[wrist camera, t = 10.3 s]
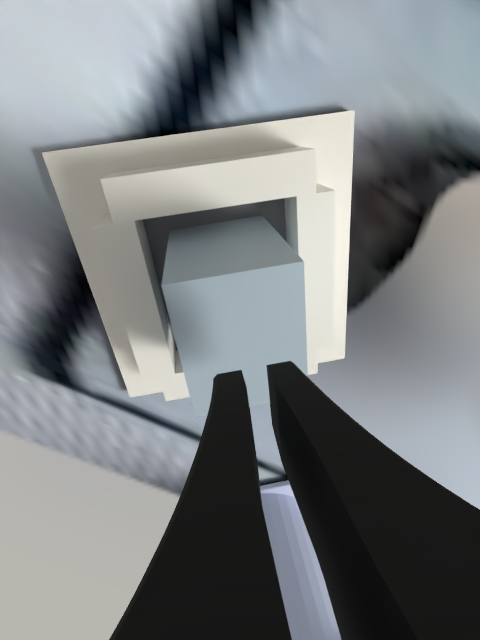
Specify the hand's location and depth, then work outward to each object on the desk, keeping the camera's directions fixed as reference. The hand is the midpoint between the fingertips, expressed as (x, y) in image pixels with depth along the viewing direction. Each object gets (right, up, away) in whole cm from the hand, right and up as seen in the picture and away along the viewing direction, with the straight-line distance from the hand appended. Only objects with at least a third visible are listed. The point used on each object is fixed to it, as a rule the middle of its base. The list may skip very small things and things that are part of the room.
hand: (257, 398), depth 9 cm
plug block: (-1, +4, +7) cm, 8 cm away
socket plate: (-1, +4, +8) cm, 9 cm away
